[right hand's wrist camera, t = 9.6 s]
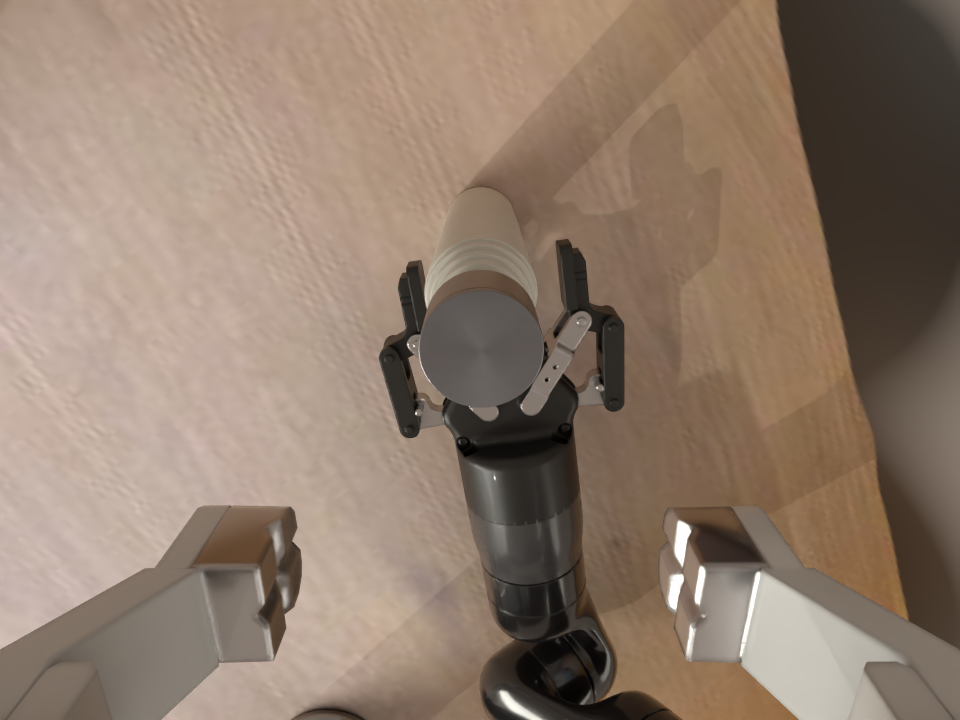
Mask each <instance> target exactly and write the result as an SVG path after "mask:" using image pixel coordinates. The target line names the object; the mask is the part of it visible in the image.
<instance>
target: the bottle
mask: <svg viewBox="0 0 960 720" xmlns="http://www.w3.org/2000/svg"><path fill="white" fill-rule="evenodd" d="M473 270H490V271H495V272H499V273H502V274H504V275H506V276H508V277H510V278H512V279H513V280H515V281H516V282H518V283H519V284H520V285H521V286H522V287H523V288H524V289H525V291H526V292H527V293H528V295H529V296H530V298H531V299H532V302H533V304H534V307H535V308H536V304H537V298H538V287H537V281H536V277H535V274H534V271H533V267H532V264H531V261H530V258H529V255H528V252H527V249H526V246H525V243H524V240H523V237H522V234H521V231H520V228H519V225H518V222H517V219H516V216H515V213H514V210H513V207H512V205H511V204H510V202H509V201H508V200H507V198H506V197H505V196H504V195H502V194H501V193H500V192H498V191H496V190H494V189H491V188H486V187H476V188H471V189H468V190H466V191H464V192H463V193H461V194H460V195H458V196H457V197H456V198H455V199H454V201H453V202H452V204H451V205H450V207H449V210H448V213H447V216H446V219H445V222H444V225H443V228H442V231H441V234H440V237H439V241H438V244H437V247H436V250H435V253H434V256H433V259H432V262H431V265H430V268H429V272H428V275H427V278H426V282H425V291H424V294H425V303H426V307H427V308H428V305H429V303H430V301H431V299H432V297H433V295H434V294H435V292H436V291H437V290H438V289H439V288H440V287H441V286H442V285H443V284H444V283H445V282H446V281H448V280H449V279H451V278H452V277H454V276H456V275H458V274H461V273H464V272H467V271H473Z"/></svg>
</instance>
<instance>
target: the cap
mask: <svg viewBox="0 0 960 720" xmlns="http://www.w3.org/2000/svg"><path fill="white" fill-rule="evenodd" d="M418 349H419V359H420V364H421V366H422V369H423V372H424V374H425V376H426V378H427V379H428V380H429V382H430V383H431V385H432V386H433V387H434V388H435V389H436V390H437V391H438V392H440V393H441V394H442V395H443V396H445V397H446V398H448V399H450V400H452V401H454V402H456V403H459V404H462V405H465V406H470V407H479V408H480V407H493V406H497V405H501V404H504V403H506V402H509V401H511V400H513V399H515V398H516V397H518V396H519V395H521V394H522V393H523V392H524V391H525V390H526V389H528V388H529V386H530V385H531V384H532V383H533V381H534V380H535V378H536V377H537V375H538V373H539V371H540V368H541V365H542V362H543V356H544V341H543V336H542V332H541V329H540V325H539V321H538V318H537V314H536V310H535V307H534V304H533V302H532V299H531V298H530V296H529V295H528V293H527V292H526V291H525V289H524V288H523V287H522V286H521V285H520V284H519V283H518V282H516V281H515V280H513V279H512V278H510V277H508V276H506V275H504V274H502V273H499V272H495V271H490V270H473V271H467V272H464V273H461V274H458V275H456V276H454V277H452V278H451V279H449V280H448V281H446V282H445V283H444V284H443V285H442V286H441V287H440V288H439V289H438V290H437V291H436V292H435V294H434V295H433V297H432V299H431V301H430V303H429V305H428V308H427V312H426V315H425V319H424V323H423V327H422V330H421V334H420V339H419V348H418Z"/></svg>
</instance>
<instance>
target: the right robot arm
mask: <svg viewBox="0 0 960 720" xmlns="http://www.w3.org/2000/svg"><path fill="white" fill-rule="evenodd" d="M296 530H297V522H296V516H295V511H294V510H293V509H292V508H291V507H276V506H202V507H200V508H198V509H197V510H196V511H195V512H194V514H193V515H192V517H191V518H190V519H189V521H188V522H187V524H186V525H185V526H184V528H183V529H182V531H181V532H180V533H179V535H178V536H177V538H176V539H175V540H174V542H173V543H172V545H171V546H170V547H169V549H168V550H167V552H166V553H165V554H164V556H163V557H162V559H161V560H160V561H159V563H158V564H157V565H156V567H155V568H147V569H143V570H141V571H140V572H138V573H136V574H134V575H133V576H131V577H129V578H127V579H125V580H124V581H122V582H120V583H118V584H117V585H115V586H113V587H111V588H109V589H108V590H106V591H104V592H102V593H100V594H99V595H97V596H95V597H93V598H92V599H90V600H88V601H86V602H84V603H83V604H81V605H79V606H77V607H75V608H74V609H72V610H70V611H68V612H67V613H65V614H63V615H61V616H59V617H58V618H56V619H54V620H52V621H50V622H49V623H47V624H45V625H43V626H42V627H40V628H38V629H36V630H34V631H33V632H31V633H29V634H27V635H25V636H24V637H22V638H20V639H18V640H17V641H15V642H13V643H11V644H9V645H8V646H6V647H4V648H2V649H1V650H0V720H161V719H162V718H163V717H164V716H165V715H166V714H168V713H169V712H170V711H171V710H172V709H173V708H174V707H175V706H176V705H177V704H178V703H179V702H180V701H182V700H183V699H184V698H185V697H186V696H187V695H188V694H189V693H190V692H191V691H192V690H193V689H194V688H196V687H197V686H198V685H199V684H200V683H201V682H202V681H203V680H204V679H205V678H206V677H207V676H208V675H209V674H211V673H212V672H213V671H214V670H215V669H216V668H217V667H218V666H219V664H218V663H228V662H262V661H274V659H275V656H276V654H277V651H278V648H279V646H280V643H281V640H282V638H283V635H284V632H285V630H286V623H285V615H284V614H286V613H287V612H288V611H289V610H291V609H292V608H293V607H294V606H295V603H296V600H297V597H298V594H299V589H300V583H301V577H302V559H301V551H300V549H299V548H298V547H297V546H296V545H295V544H294V543H293V542H292V540H293V537H294V535H295V533H296ZM663 530H664V533H665V535H666V537H667V540H668V542H667V543H666V544H665V545H664V546H663V547H662V548H661V549H660V551H659V561H658V574H659V585H660V590H661V594H662V597H663V600H664V603H665V606H666V607H667V608H668V609H669V610H671V611H672V612H673V613H674V614H676V616H675V623H674V630H675V632H676V635H677V638H678V640H679V643H680V646H681V648H682V651H683V653H684V656H685V659H686V661H696V662H732V663H741V666H742V667H743V668H744V669H745V670H747V671H748V672H749V673H750V674H751V675H752V676H753V677H754V678H755V679H756V680H757V681H758V682H759V683H760V684H762V685H763V686H764V687H765V688H766V689H767V690H768V691H769V692H770V693H771V694H772V695H773V696H774V697H775V698H777V699H778V700H779V701H780V702H781V703H782V704H783V705H784V706H785V707H786V708H787V709H788V710H789V711H791V712H792V713H793V714H794V715H795V716H796V717H797V718H798V719H799V720H960V650H959V649H957V648H956V647H954V646H952V645H950V644H948V643H947V642H945V641H943V640H941V639H939V638H938V637H936V636H934V635H932V634H931V633H929V632H927V631H925V630H923V629H922V628H920V627H918V626H916V625H915V624H913V623H911V622H909V621H907V620H906V619H904V618H902V617H900V616H899V615H897V614H895V613H893V612H891V611H890V610H888V609H886V608H884V607H883V606H881V605H879V604H877V603H875V602H874V601H872V600H870V599H868V598H867V597H865V596H863V595H861V594H859V593H858V592H856V591H854V590H852V589H851V588H849V587H847V586H845V585H843V584H842V583H840V582H838V581H836V580H835V579H833V578H831V577H829V576H827V575H826V574H824V573H822V572H820V571H819V570H817V569H814V568H805V567H804V566H803V564H802V563H801V561H800V560H799V559H798V557H797V556H796V554H795V553H794V552H793V550H792V549H791V548H790V546H789V545H788V543H787V542H786V541H785V539H784V538H783V536H782V535H781V534H780V532H779V531H778V529H777V528H776V527H775V525H774V524H773V523H772V521H771V520H770V518H769V517H768V516H767V514H766V513H765V511H764V510H763V509H762V508H761V507H759V506H757V505H744V506H727V507H671V508H667V510H666V512H665V515H664V521H663Z"/></svg>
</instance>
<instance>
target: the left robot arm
mask: <svg viewBox="0 0 960 720" xmlns="http://www.w3.org/2000/svg"><path fill="white" fill-rule="evenodd" d="M556 252H557V262H558V272H559V281H560V291H561V300H562V303H563V305H564V307H565V308H564V310H563V311H562V313H561V315H560V316H559V318H558V319H557V321H556V323H555V324H554V326H553V327H552V328H550V329H549V330H548V331H547V333H546V335H545V336H544V338H543V341H544V356H543V362H542V365H541V368H540V371H539V373H538V375H537V377H536V378H535V380H534V381H533V383H532V384H531V385H530V386H529V388H528V389H526V390H525V391H524V392H523V393H522V394H521V395H519V396H518V397H516V398H515V399H513V400H511V401H509V402H506V403H504V404H501V405H497V406H493V407H480V408H479V407H470V406H465V405H462V404H459V403H456V402H454V401H452V400H450V399H448V398H445V400H444V402H443V405H435V404H434V403H432V402H431V400H430V398H429V396H428V395H427V394H425V393H418V392H417V388H416V384H415V381H414V377H413V373H412V370H411V366H410V363H409V359H408V358H409V357H410V356H412V355H415V356H416V357H418V358H419V349H418V348H419V339H420V334H421V330H422V327H423V323H424V319H425V315H426V312H427V307H426V303H425V294H424V291H425V282H426V281H425V276H424V271H423V265H422V262H421V260H418V261H411V262H409V263H408V265H407V267H406V273H402V275H401V277H400V280H399V285H398V291H399V296H400V301H401V305H402V310H403V315H404V320H405V325H406V329H405V330H404V331H403V332H401V333H399V334H397V335H391V336H389V337H388V338H387V339H386V341H385V343H384V347H383V349H382V351H381V353H380V355H379V361H380V365H381V368H382V371H383V375H384V378H385V382H386V385H387V388H388V392H389V395H390V399H391V402H392V405H393V409H394V412H395V416H396V419H397V422H398V426H399V429H400V432H401V434H402V435H403V436H404V437H406V438H414V437H416V436H417V435H418V434H419V430H420V429H423V428H429V427H434V426H439V425H444V424H445V425H446V426H447V428H448V429H449V430H450V431H451V432H452V434H453V436H454V439H455V444H456V449H457V454H458V460H459V465H460V470H461V476H462V481H463V486H464V492H465V497H466V502H467V507H468V513H469V518H470V524H471V528H472V533H473V537H474V540H475V543H476V546H477V548H478V551H479V554H480V557H481V562H482V568H483V573H484V579H485V584H486V590H487V595H488V600H489V605H490V609H491V612H492V615H493V617H494V619H495V621H496V623H497V625H498V626H499V627H500V628H501V630H502V631H503V632H505V633H506V634H507V635H509V636H510V637H512V638H514V639H515V640H513V641H512V642H511V643H509V644H507V645H506V646H505V647H503V648H502V649H500V650H499V651H498V652H496V653H495V654H494V655H493V656H492V657H491V658H490V659H489V660H488V661H487V662H486V664H485V665H484V667H483V669H482V673H481V676H480V685H479V687H480V696H481V701H482V704H483V707H484V710H485V712H486V714H487V716H488V718H489V720H682V719H681V718H680V717H679V716H677V715H676V714H675V713H673V712H672V711H671V710H670V709H668V708H667V707H666V706H664V705H663V704H662V703H660V702H659V701H658V700H656V699H655V698H653V697H652V696H650V695H648V694H646V693H644V692H641V691H636V690H631V691H625V692H621V693H618V694H616V695H613V696H611V697H609V698H607V699H605V700H603V699H604V698H605V697H606V696H607V694H608V693H609V692H610V690H611V689H612V687H613V684H614V681H615V678H616V674H617V666H618V665H617V656H616V652H615V649H614V647H613V645H612V643H611V640H610V638H609V637H608V635H607V633H606V631H605V629H604V627H603V625H602V623H601V620H600V618H599V616H598V613H597V611H596V609H595V606H594V604H593V602H592V599H591V597H590V594H589V592H588V589H587V587H586V578H585V567H584V558H583V549H582V532H583V514H582V504H581V495H580V485H579V475H578V466H577V457H576V447H575V438H574V428H573V419H574V415H575V412H576V410H577V409H578V407H579V406H592V405H604V406H605V408H606V409H607V410H609V411H612V412H615V411H618V410H620V409H621V408H622V407H623V405H624V323H623V322H622V320H621V319H620V317H619V316H618V314H617V313H616V311H615V310H614V308H612V307H611V306H608V305H605V306H597V305H593V304H591V303H589V295H588V284H587V273H586V261H585V259H584V257H583V256H582V254H581V252H580V251H579V249H578V248H573V249H572V245H571V243H570V241H569V240H568V239H564V240H557V241H556ZM587 331H593V332H596V351H597V368H596V369H592V370H590V371H589V372H588V373H587V375H586V380H585V382H584V384H583V385H581V386H579V387H575V385H574V384H573V383H572V382H571V381H570V380H569V379H568V378H567V377H566V376H565V375H564V374H563V373H564V371H565V369H566V368H567V366H568V365H569V363H570V362H571V360H572V358H573V356H574V352H575V349H576V348H577V346H578V344H579V343H580V341H581V340H582V338H583V337H584V335H585V334H586V332H587ZM293 720H362V719H360V718H358V717H356V716H354V715H351V714H348V713H345V712H341V711H335V710H317V711H311V712H307V713H304V714H302V715H300V716H297V717H296V718H294V719H293Z"/></svg>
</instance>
